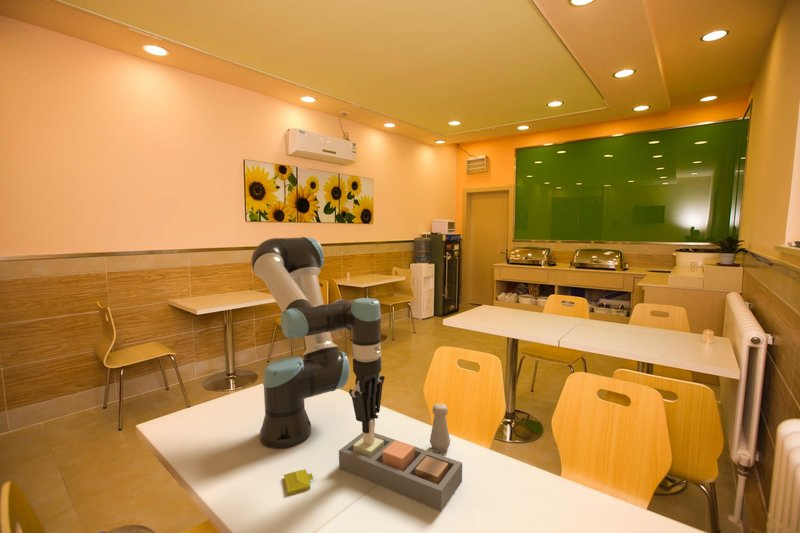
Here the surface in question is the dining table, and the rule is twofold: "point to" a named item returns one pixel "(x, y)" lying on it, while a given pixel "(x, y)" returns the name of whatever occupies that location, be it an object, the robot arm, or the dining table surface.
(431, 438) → the salt shaker
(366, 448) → the cream square block
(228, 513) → the dining table surface
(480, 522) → the dining table surface
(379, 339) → the robot arm
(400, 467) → the terracotta key
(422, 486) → the key panel
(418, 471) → the walnut key
